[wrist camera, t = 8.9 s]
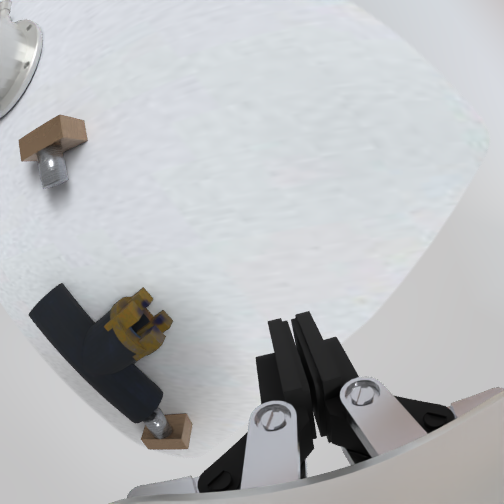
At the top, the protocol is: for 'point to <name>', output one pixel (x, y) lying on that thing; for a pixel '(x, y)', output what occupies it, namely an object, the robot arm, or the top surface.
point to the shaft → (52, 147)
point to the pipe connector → (107, 346)
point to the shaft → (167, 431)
